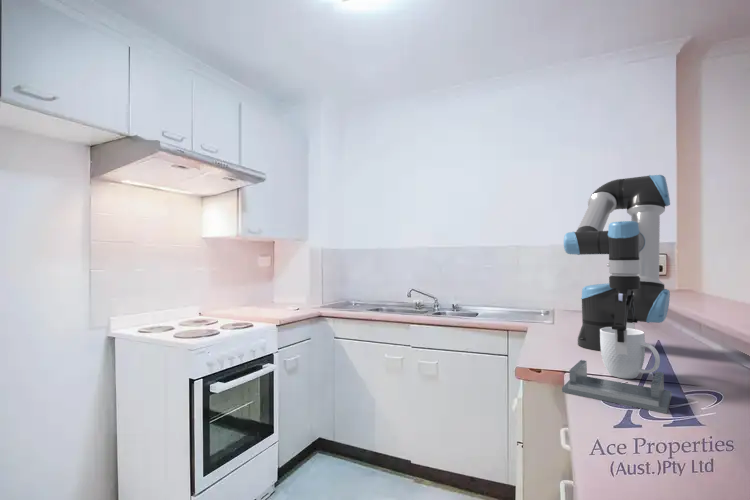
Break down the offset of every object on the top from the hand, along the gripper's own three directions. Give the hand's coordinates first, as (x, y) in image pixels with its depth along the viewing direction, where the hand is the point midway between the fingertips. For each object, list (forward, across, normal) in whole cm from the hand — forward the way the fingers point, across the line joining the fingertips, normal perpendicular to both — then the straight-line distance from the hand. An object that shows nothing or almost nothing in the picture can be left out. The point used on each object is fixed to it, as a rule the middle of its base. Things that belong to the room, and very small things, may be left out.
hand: (625, 349), depth 112 cm
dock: (+8, +16, 0) cm, 18 cm away
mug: (+8, -1, 0) cm, 8 cm away
